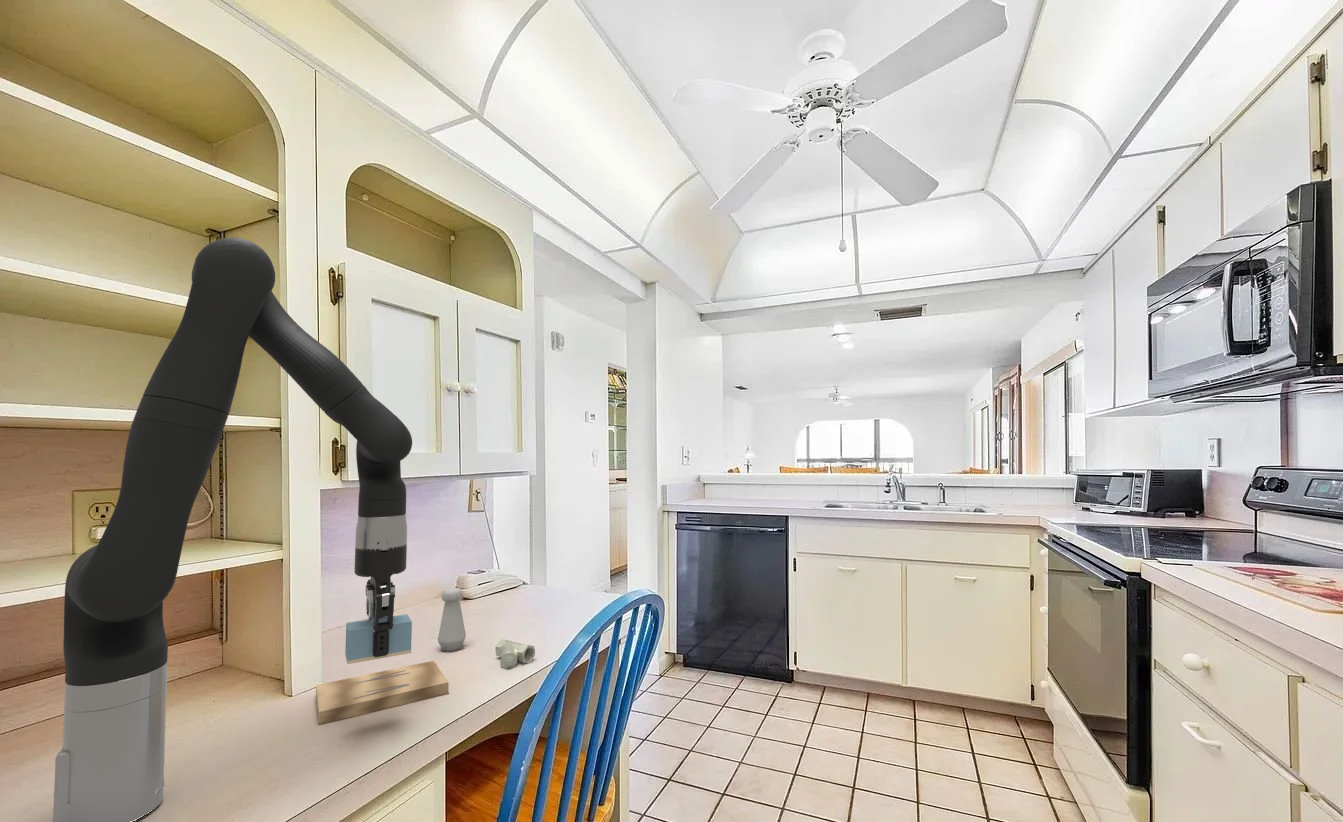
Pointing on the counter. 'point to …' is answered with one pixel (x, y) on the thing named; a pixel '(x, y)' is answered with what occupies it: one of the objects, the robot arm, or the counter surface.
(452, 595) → the salt shaker
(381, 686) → the oak board
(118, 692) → the robot arm
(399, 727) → the counter surface
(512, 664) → the pipe fitting
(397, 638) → the block
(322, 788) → the counter surface
